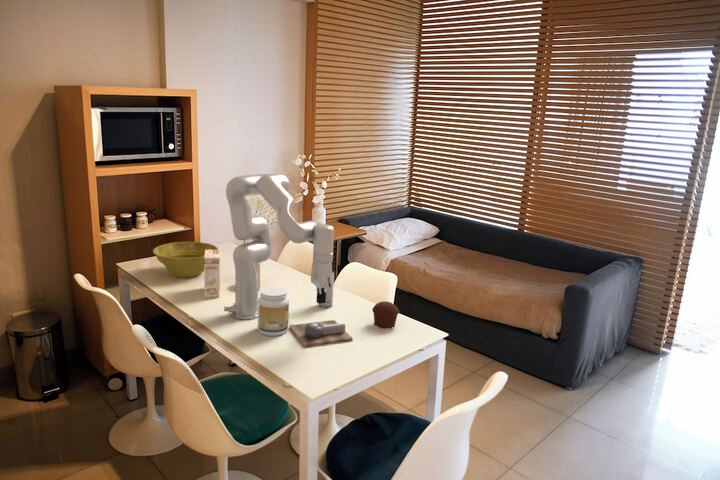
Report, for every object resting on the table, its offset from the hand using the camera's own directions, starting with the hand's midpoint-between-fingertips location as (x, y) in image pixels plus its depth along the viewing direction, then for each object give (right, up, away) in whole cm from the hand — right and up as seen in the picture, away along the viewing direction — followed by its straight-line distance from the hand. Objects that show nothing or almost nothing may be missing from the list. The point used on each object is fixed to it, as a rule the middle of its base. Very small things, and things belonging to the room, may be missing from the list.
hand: (321, 302), depth 204 cm
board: (-1, -14, +8) cm, 16 cm away
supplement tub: (-20, -13, +9) cm, 25 cm away
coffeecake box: (-55, -1, +47) cm, 73 cm away
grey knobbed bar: (+1, -13, +6) cm, 14 cm away
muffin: (+26, -12, +22) cm, 36 cm away
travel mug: (-1, -6, +40) cm, 40 cm away
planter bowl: (-76, +6, +72) cm, 105 cm away
